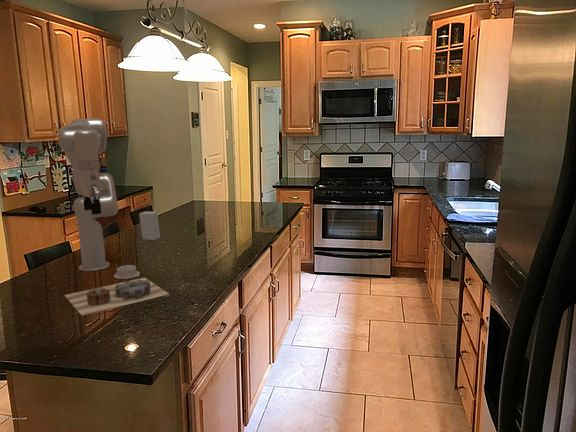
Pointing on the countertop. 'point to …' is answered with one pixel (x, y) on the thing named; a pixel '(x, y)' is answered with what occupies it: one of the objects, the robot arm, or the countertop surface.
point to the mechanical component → (127, 272)
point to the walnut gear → (98, 297)
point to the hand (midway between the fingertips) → (92, 211)
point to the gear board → (117, 295)
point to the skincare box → (149, 225)
